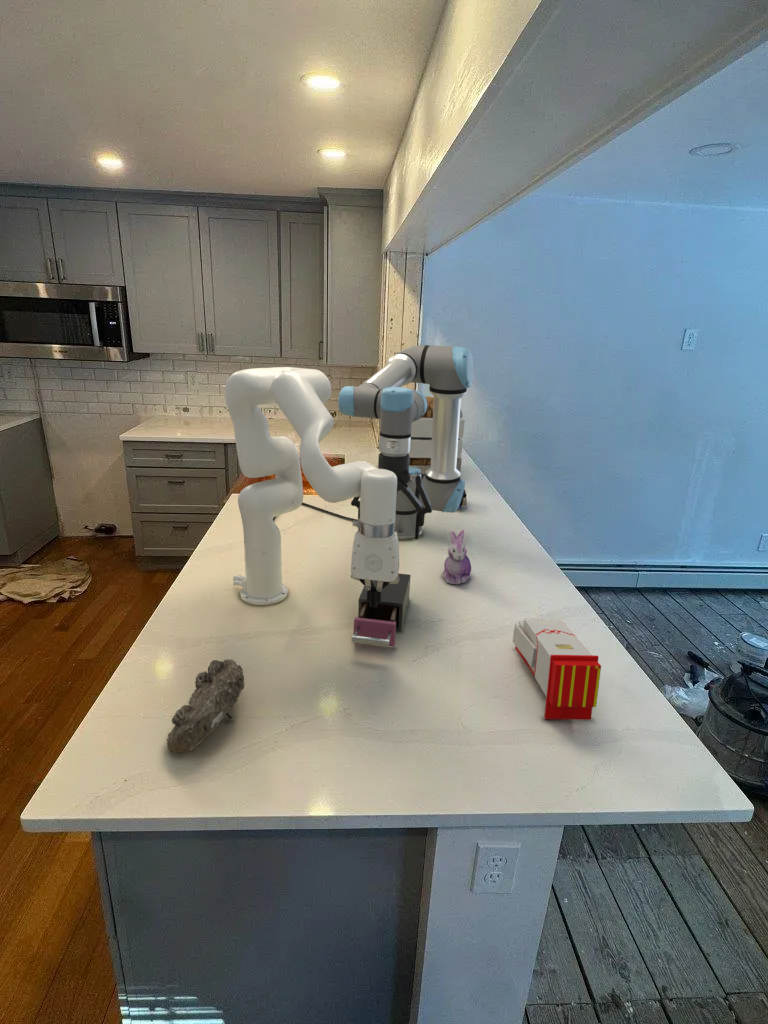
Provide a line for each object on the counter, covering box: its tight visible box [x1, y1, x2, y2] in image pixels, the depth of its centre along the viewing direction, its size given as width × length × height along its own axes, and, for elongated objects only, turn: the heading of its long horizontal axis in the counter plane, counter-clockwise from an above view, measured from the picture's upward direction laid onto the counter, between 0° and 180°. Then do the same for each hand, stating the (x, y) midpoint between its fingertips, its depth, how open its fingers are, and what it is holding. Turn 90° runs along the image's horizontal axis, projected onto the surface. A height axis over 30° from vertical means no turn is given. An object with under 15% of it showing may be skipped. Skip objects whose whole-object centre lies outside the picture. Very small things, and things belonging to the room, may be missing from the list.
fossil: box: [166, 658, 245, 754], centre depth 106 cm, size 22×10×15 cm
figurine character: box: [458, 488, 468, 511], centre depth 230 cm, size 7×8×15 cm
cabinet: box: [357, 572, 412, 633], centre depth 146 cm, size 16×11×8 cm
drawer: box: [351, 602, 399, 648], centre depth 136 cm, size 21×10×6 cm, turn 171°
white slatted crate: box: [408, 396, 465, 475], centre depth 268 cm, size 34×33×41 cm
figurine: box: [442, 529, 472, 585], centre depth 166 cm, size 9×10×15 cm
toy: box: [512, 618, 602, 721], centre depth 123 cm, size 12×13×30 cm
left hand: (373, 604), depth 126 cm, fingers closed
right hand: (390, 534), depth 144 cm, fingers open, 13 cm apart
